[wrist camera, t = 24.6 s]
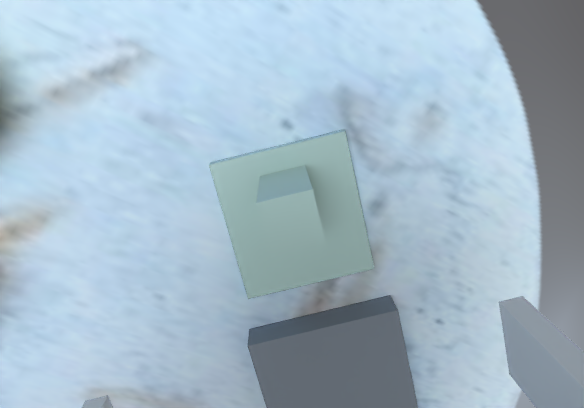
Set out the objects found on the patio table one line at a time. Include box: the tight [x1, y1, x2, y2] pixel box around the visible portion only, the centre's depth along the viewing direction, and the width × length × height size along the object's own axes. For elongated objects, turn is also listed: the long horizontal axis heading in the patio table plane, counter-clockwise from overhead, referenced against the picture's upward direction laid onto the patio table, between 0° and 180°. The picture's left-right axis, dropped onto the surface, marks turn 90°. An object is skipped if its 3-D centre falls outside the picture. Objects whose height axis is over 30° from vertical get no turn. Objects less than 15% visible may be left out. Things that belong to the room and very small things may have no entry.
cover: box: [209, 130, 374, 299], centre depth 40 cm, size 12×13×10 cm
